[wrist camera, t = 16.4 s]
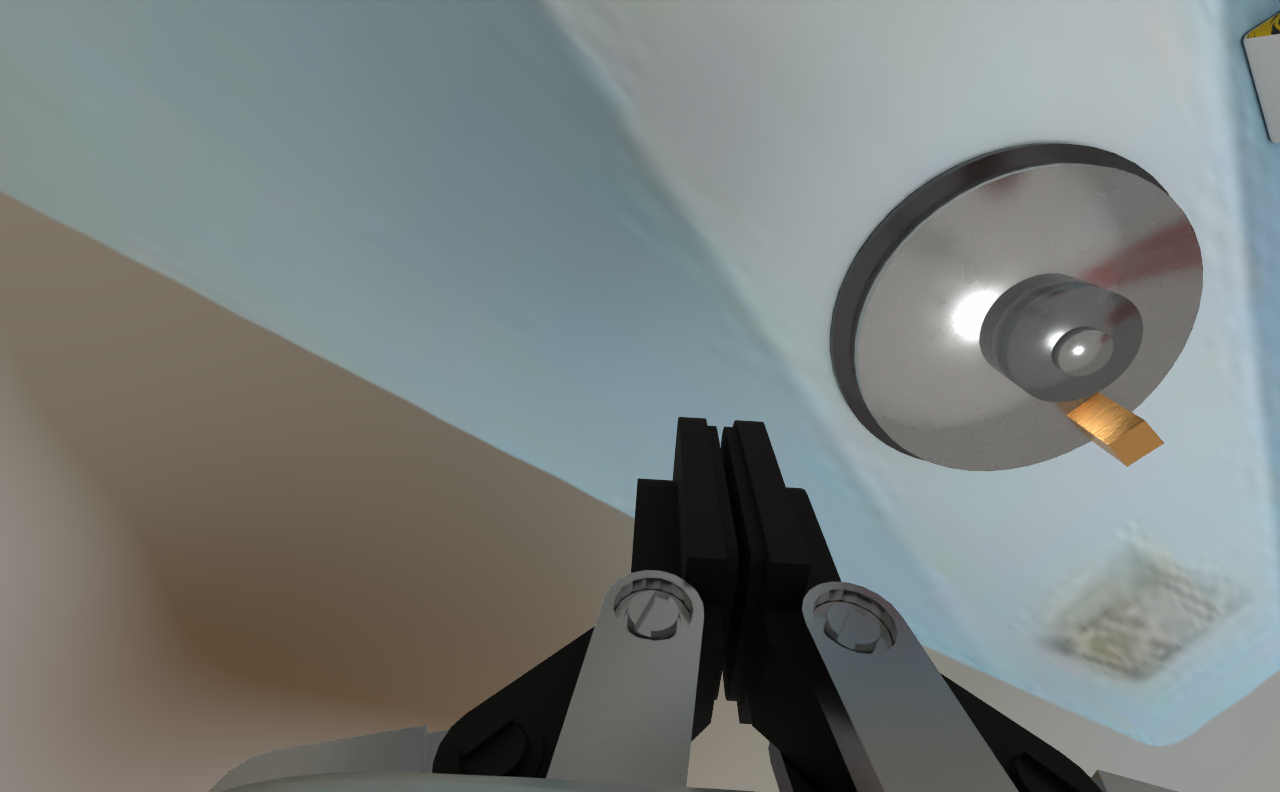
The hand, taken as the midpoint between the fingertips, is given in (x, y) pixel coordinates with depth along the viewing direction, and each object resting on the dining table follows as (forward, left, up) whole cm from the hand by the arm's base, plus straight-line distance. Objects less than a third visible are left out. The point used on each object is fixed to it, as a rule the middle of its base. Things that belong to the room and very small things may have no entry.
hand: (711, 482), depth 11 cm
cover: (+4, +24, -26) cm, 35 cm away
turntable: (+5, +23, -28) cm, 36 cm away
